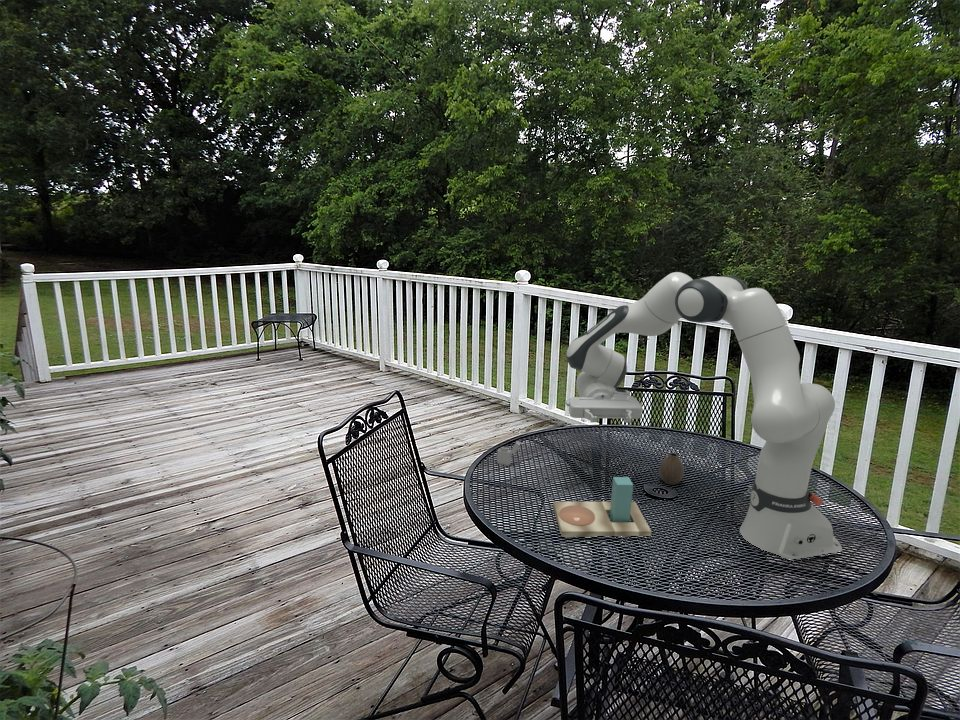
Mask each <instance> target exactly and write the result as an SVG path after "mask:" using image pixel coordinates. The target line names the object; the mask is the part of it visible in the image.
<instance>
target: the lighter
mask: <svg viewBox="0 0 960 720" xmlns="http://www.w3.org/2000/svg"><path fill="white" fill-rule="evenodd" d="M521 444H522V442H521V441H520V440H517V441H516V443H514V446H513V447H512V449H511V450H510V449H509V448H508V447H507V446H502V447H500V448H498V449H497V453H496V454H497V457H496V459H497V460H496V464H499V465H506V466H510V465H511V464H512V455H514V456H515V454H516V453H517V451H518V449H519V447H520V445H521Z"/></svg>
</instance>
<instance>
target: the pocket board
mask: <svg viewBox="0 0 960 720" xmlns="http://www.w3.org/2000/svg"><path fill="white" fill-rule="evenodd" d="M552 505H553V506H552V509H553V512H554V516H556V517H555V520H556V524H557V523H558V524H557V526H559V528H558V530H560V531H559V534H560V533H561V535H560V537H561V536H562V537H575V536H576V537H577V536H578V537H591V536H592V537H593V536H620V537H621V536H622V537H628V536H629V537H630V536H651V537H652V529H651V528H650V526H649V524H648V522H647V521H646V519H645V518H644V516H643V514H642V512H641V510H640V508H639V506H638V504H637V503H636V501H632V502H631V512H630V520H631V522H630V521H629V522H611V521H610V519H609V518H610V516H608V515H610V507H611V501H553V504H552ZM567 506H582V507H585V508H587V509H589V510H591V511H592V512H593V513H594V515H595V520H594V521H593V522H592V523H591V524H589V525H584V526H577V525H572V524H569V523H566V522H565V521H563V520H562V519H561V518H560V516H559V512H560V510H561V509H562V508H564V507H567Z"/></svg>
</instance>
